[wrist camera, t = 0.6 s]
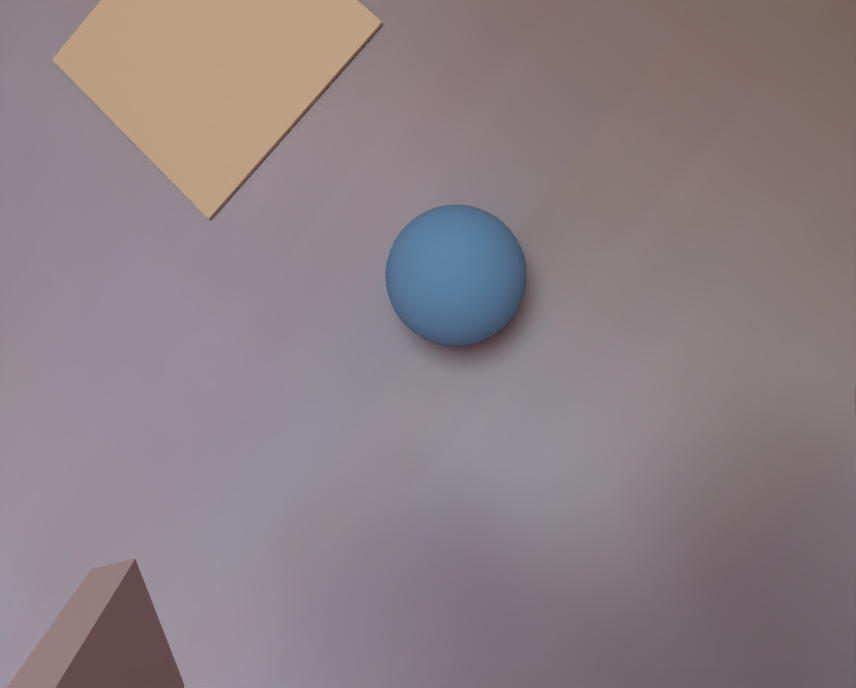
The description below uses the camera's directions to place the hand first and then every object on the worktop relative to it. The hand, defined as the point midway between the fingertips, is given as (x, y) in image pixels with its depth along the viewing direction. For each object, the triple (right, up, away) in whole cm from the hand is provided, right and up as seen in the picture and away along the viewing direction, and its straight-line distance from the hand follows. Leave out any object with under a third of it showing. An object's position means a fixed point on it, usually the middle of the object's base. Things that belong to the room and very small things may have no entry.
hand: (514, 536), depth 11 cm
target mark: (-12, +18, +19) cm, 28 cm away
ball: (-1, +6, +13) cm, 15 cm away
